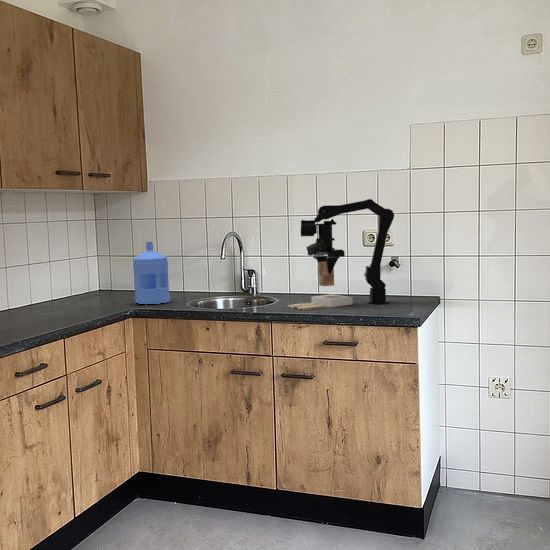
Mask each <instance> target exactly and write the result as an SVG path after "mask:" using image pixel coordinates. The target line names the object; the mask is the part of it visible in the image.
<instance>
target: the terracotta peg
mask: <svg viewBox="0 0 550 550" xmlns="http://www.w3.org/2000/svg"><path fill="white" fill-rule="evenodd" d="M318 286H320V287H329V286H330V287H332V286H335V267H334V268H333V270H332V273H331V274H329V273H328V266H327V261H320V262H319V264H318Z"/></svg>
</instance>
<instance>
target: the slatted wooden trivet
mask: <svg viewBox="0 0 550 550" xmlns="http://www.w3.org/2000/svg"><path fill="white" fill-rule="evenodd" d="M289 307H291V309H295V308H297V309H296V310H300V309H302V310H301V311H305V310H306V311H313V310H312V309H314V310H319V309H320V308H321V309H326V307H327V306H324V305H318V304H312V302H302V303H295V304H288V305H287V308H289Z"/></svg>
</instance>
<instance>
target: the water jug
mask: <svg viewBox="0 0 550 550" xmlns="http://www.w3.org/2000/svg"><path fill="white" fill-rule="evenodd" d="M153 243H154V241H146V242H145V245H146V246H145V247H146V249H145V251H144V252H143V253H140V254H139V255H137V256H136V257H134V258H133V259H132V267H133V278H134V281H133V283H134V284H133V285H134V296H135V298H134V302H135V304H136V303H139V304H160V303H165V304H168V303H170V301H171V297H170V286H169V260H168V257H167V256H166V255H164V254H162V253H160V252H157V251H155V250H154V245H153ZM167 302H168V303H167ZM160 305H161V304H160Z"/></svg>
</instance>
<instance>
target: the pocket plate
mask: <svg viewBox="0 0 550 550" xmlns="http://www.w3.org/2000/svg"><path fill="white" fill-rule="evenodd" d="M353 298H354V297H353V296H348V295H347V296H346V295H340V294H333V293H331V294H323V295H316V296H311V298H310V299H311V303H312V304H318V305H324V306H326V307H329V308H335V307H336V308H337V307H344V306H350V305H354V304H353V300H354V299H353Z"/></svg>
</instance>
